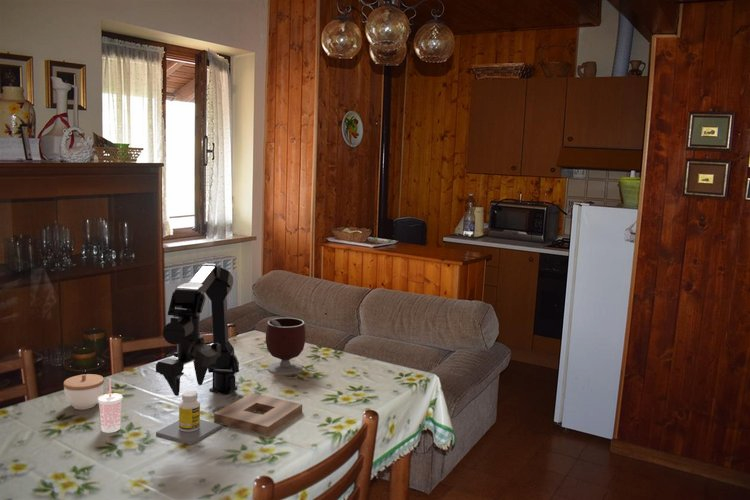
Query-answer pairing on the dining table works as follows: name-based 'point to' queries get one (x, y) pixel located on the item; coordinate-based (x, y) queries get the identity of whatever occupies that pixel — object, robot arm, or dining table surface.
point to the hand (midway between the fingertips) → (188, 390)
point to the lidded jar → (83, 390)
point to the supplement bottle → (189, 412)
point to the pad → (188, 437)
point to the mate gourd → (285, 344)
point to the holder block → (265, 424)
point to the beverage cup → (110, 411)
